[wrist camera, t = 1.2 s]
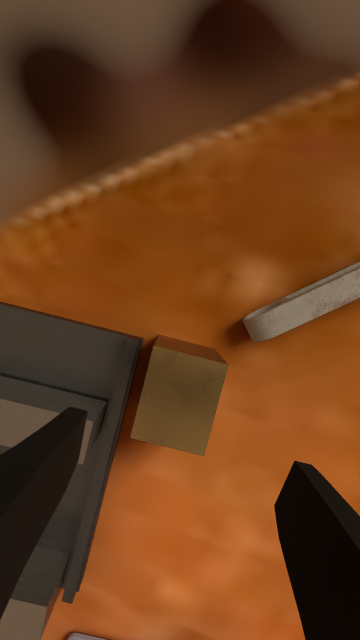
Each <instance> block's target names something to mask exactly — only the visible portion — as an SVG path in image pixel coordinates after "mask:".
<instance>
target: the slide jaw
mask: <svg viewBox="0 0 360 640" xmlns="http://www.w3.org/2000/svg"><path fill="white" fill-rule="evenodd" d="M106 404H107V402H106V401H102V400H98V399H94V398H90V397H85V396H81V395H77V394H73V393H69V392H65V391H61V390H57V389H53V388H49V387H45V386H41V385H37V384H33V383H29V382H25V381H21V380H17V379H12V378H8V377H4V376H0V445H3V446H7V447H14V446H15V445H17V444H18V443H20V442H21V441H23V440H24V439H26V438H27V437H28V436H30V435H31V434H33V433H34V432H36V431H37V430H39V429H40V428H41V427H43V426H44V425H45V424H47V423H48V422H50V421H51V420H52V419H54V418H55V417H56V416H57V415H59V414H60V413H61V412H63V411H64V410H65V409H67V408H69V407H74V408H78V409H82V410H86V411H88V413H87V419H86V424H85V429H84V434H83V440H82V445H81V450H80V456H79V460H78V464H82V465H83V463H84V462H85V460H86V458H87V456H88V455H89V453H90V451H91V449H92V448H93V446H94V444H95V442H96V441H97V439H98V436H99V432H100V428H101V424H102V420H103V416H104V412H105V408H106Z"/></svg>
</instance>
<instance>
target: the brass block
mask: <svg viewBox="0 0 360 640" xmlns="http://www.w3.org/2000/svg"><path fill="white" fill-rule="evenodd" d="M227 368H228V364H227V362H226V361H225V360H224V359H223V358H222V357H221V356H220V355H219V353H218V352H217V351H216V350H215V349H214V348H210V347H206V346H202V345H198V344H194V343H190V342H186V341H182V340H179V339H175V338H171V337H167V336H163V335H159V336H158V338H157V340H156V342H155V344H154V346H153V350H152V353H151V357H150V361H149V365H148V369H147V373H146V377H145V381H144V385H143V389H142V393H141V397H140V401H139V405H138V409H137V412H136V416H135V420H134V424H133V428H132V432H131V436H130V438H132V439H136V440H140V441H144V442H149V443H153V444H157V445H161V446H165V447H169V448H173V449H177V450H181V451H185V452H189V453H194V454H198V455H202V456H204V454H205V451H206V447H207V443H208V439H209V436H210V432H211V428H212V424H213V421H214V417H215V413H216V409H217V405H218V402H219V398H220V394H221V390H222V387H223V383H224V379H225V375H226V372H227Z"/></svg>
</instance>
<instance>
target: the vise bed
mask: <svg viewBox="0 0 360 640" xmlns="http://www.w3.org/2000/svg"><path fill="white" fill-rule="evenodd" d="M143 339H144V338H141V337H138V336H134V335H130V334H126V333H122V332H118V331H114V330H110V329H106V328H102V327H98V326H94V325H90V324H86V323H82V322H78V321H74V320H70V319H66V318H63V317H59V316H55V315H51V314H47V313H43V312H39V311H35V310H31V309H27V308H23V307H19V306H15V305H11V304H7V303H3V302H0V376H4V377H8V378H12V379H17V380H21V381H25V382H29V383H33V384H37V385H41V386H45V387H49V388H53V389H57V390H61V391H65V392H69V393H73V394H77V395H81V396H85V397H90V398H94V399H98V400H102V401H106V402H107V404H106V408H105V412H104V416H103V420H102V424H101V428H100V432H99V436H98V439H97V441H96V442H95V444H94V446H93V448H92V449H91V451H90V453H89V455H88V456H87V458H86V460H85V462H84V463H83V465H82V464H78V463H77V465H76V468H75V470H74V473H73V475H72V477H71V480H70V482H69V485H68V487H67V489H66V491H65V493H64V495H63V497H62V499H61V501H60V502H59V504H58V506H57V508H56V510H55V512H54V514H53V515H52V517H51V519H50V521H49V523H48V525H47V527H46V528H45V530H44V532H43V534H42V536H41V538H40V539H39V541H38V543H37V545H36V547H35V549H34V550H33V552H32V554H31V556H30V558H29V560H28V562H27V564H26V566H25V568H24V570H23V572H22V574H21V576H20V578H19V580H18V582H17V584H16V586H15V589H14V591H13V593H12V595H11V598H10V600H9V602H8V604H7V607H6V609H5V611H4V613H3V616H2V618H1V620H0V640H41V637H42V635H43V632H44V630H45V627H46V625H47V622H48V620H49V617H50V615H51V612H52V610H53V607H54V605H55V602H56V600H57V597H58V595H59V592H60V590H61V588H64V589H65V590H64V594H63V598H62V602H66V603H71V604H72V602H73V599H74V596H75V593H76V591H77V592H78V591H79V588H80V585H81V582H82V579H83V576H84V572H85V568H86V565H87V561H88V557H89V553H90V549H91V545H92V541H93V537H94V533H95V529H96V525H97V521H98V517H99V513H100V509H101V505H102V501H103V497H104V493H105V489H106V485H107V481H108V477H109V473H110V469H111V465H112V462H113V458H114V454H115V450H116V446H117V442H118V438H119V434H120V430H121V426H122V422H123V418H124V414H125V410H126V406H127V402H128V398H129V394H130V390H131V386H132V382H133V378H134V374H135V370H136V366H137V362H138V359H139V355H140V351H141V347H142V343H143ZM10 448H12V447H7V446H3V445H0V455H1V454H2V453H4V452H6V451H7V450H9V449H10Z"/></svg>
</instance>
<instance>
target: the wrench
mask: <svg viewBox="0 0 360 640" xmlns="http://www.w3.org/2000/svg"><path fill="white" fill-rule="evenodd" d="M358 298H360V262H357V263H355V264H353V265H351V266H349V267H347V268H345V269H343V270H341V271H338V272H336V273H334V274H332V275H330V276H328V277H326V278H324V279H321V280H319V281H317V282H315V283H313V284H311V285H309V286H307V287H304V288H302V289H300V290H298V291H296V292H294V293H292V294H290V295H287V296H285V297H283V298H281V299H279V300H277V301H275V302H273V303H271V304H269V305H267V306H264V307H262V308H260V309H258V310H256V311H254V312H252V313H250V314H248V315H247V316H245V317H244V318H243V320H242V321H243V323H244V325H245V327H246V329H247V331H248V333H249V335H250V337H251V339H252V341H254V342H261V341H265V340H268V339H270V338H273V337H276V336H278V335H280V334H282V333H284V332H287V331H289V330H291V329H293V328H295V327H298V326H300V325H302V324H304V323H306V322H308V321H311V320H313V319H315V318H317V317H319V316H321V315H324V314H326V313H328V312H330V311H332V310H334V309H337V308H339V307H341V306H343V305H345V304H347V303H350V302H352V301H354V300H356V299H358Z"/></svg>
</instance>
